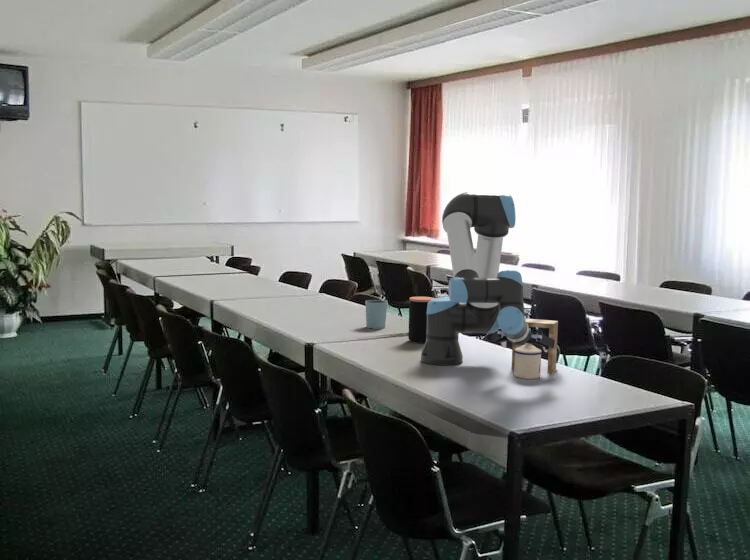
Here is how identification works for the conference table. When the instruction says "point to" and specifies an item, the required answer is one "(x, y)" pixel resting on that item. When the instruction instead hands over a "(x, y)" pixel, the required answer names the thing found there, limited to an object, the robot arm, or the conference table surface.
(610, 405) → the conference table surface
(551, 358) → the wooden arch
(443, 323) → the robot arm
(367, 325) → the light blue cup
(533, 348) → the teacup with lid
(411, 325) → the coffee jar
